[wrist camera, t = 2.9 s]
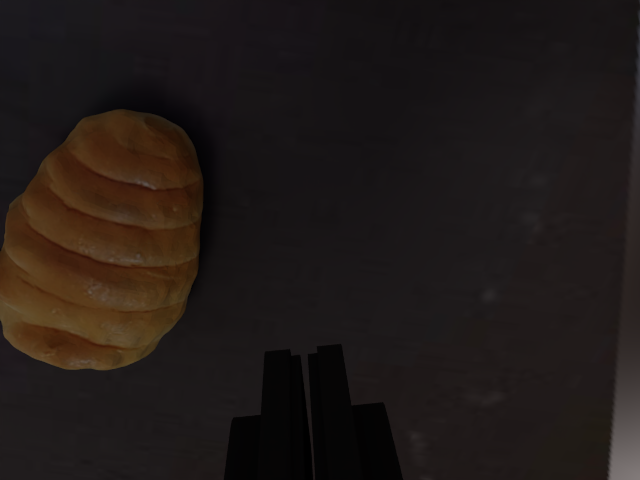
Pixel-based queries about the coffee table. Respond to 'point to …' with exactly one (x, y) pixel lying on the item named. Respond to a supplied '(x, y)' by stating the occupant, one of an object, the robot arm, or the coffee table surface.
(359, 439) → the robot arm
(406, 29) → the coffee table surface
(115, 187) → the pastry
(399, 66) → the coffee table surface
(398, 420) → the coffee table surface
